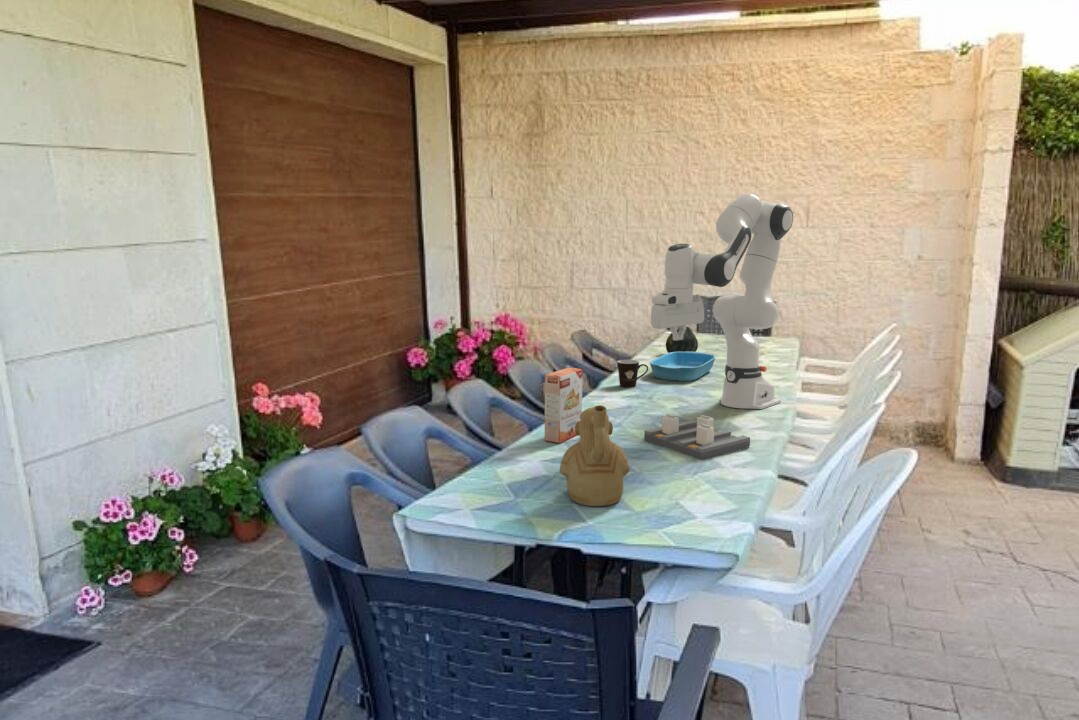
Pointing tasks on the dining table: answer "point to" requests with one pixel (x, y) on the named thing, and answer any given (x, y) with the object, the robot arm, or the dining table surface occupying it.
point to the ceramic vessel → (594, 461)
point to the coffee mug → (629, 372)
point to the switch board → (687, 441)
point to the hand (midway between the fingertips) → (677, 340)
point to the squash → (682, 342)
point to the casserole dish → (682, 365)
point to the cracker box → (562, 404)
